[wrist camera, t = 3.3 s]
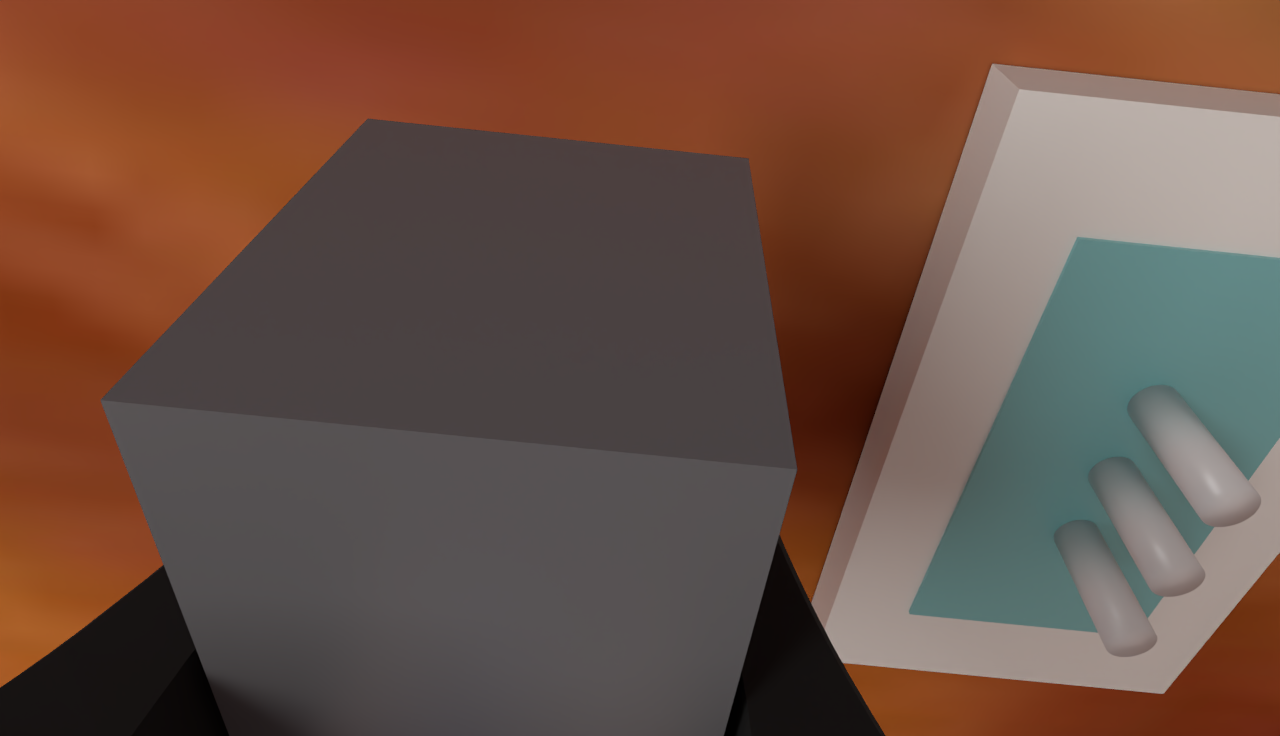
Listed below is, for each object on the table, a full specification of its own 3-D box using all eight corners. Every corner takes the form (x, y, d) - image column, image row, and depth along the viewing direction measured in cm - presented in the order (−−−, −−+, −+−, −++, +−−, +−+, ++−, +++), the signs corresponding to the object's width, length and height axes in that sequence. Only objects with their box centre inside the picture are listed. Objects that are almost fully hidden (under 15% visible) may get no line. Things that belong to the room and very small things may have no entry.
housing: (664, 636, 14) (654, 982, 10) (422, 612, 14) (312, 952, 10) (747, 158, 9) (797, 468, 5) (368, 117, 9) (100, 401, 5)
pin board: (1139, 648, 24) (1221, 805, 21) (807, 615, 24) (828, 767, 20) (1533, 121, 15) (1816, 235, 11) (992, 63, 15) (1094, 160, 11)
